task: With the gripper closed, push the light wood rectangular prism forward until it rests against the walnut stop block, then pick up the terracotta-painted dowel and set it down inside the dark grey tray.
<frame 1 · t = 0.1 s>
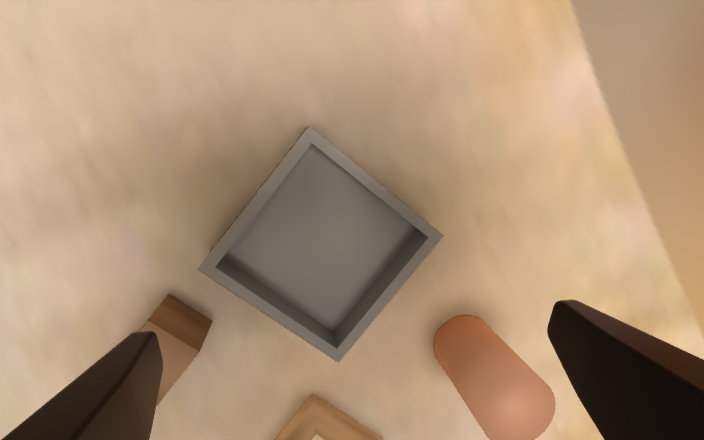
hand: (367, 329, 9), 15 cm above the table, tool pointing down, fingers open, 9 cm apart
tray: (321, 237, 25), on the table
stop block: (140, 371, 25), on the table
dowel: (462, 343, 27), on the table
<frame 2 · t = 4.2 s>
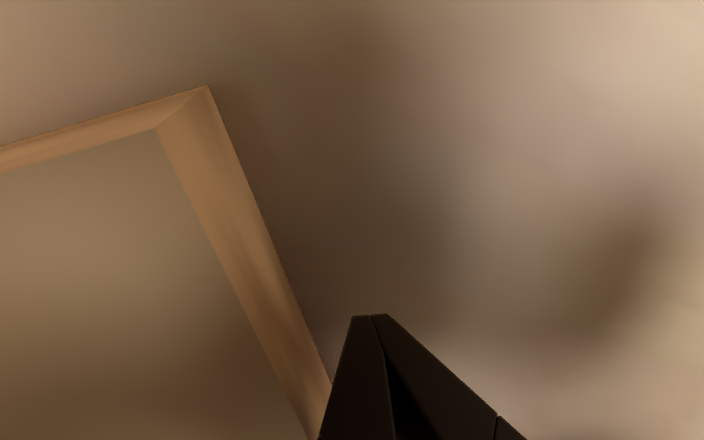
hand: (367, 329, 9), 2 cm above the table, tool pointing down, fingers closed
light wood rectangular prism: (169, 295, 10), on the table, touching gripper
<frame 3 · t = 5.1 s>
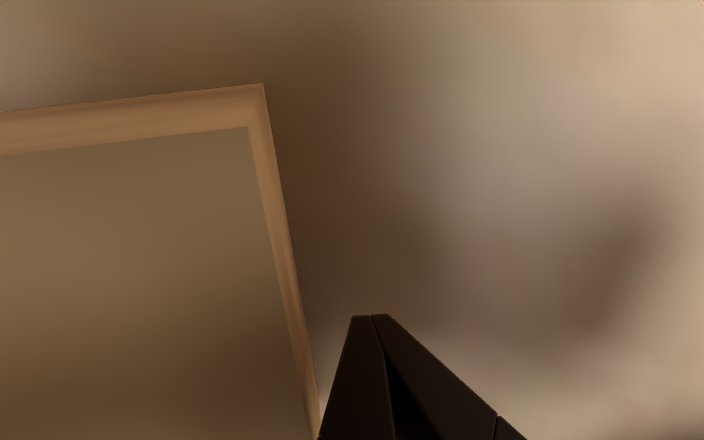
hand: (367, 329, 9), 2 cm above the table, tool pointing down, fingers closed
light wood rectangular prism: (175, 282, 10), on the table, touching gripper
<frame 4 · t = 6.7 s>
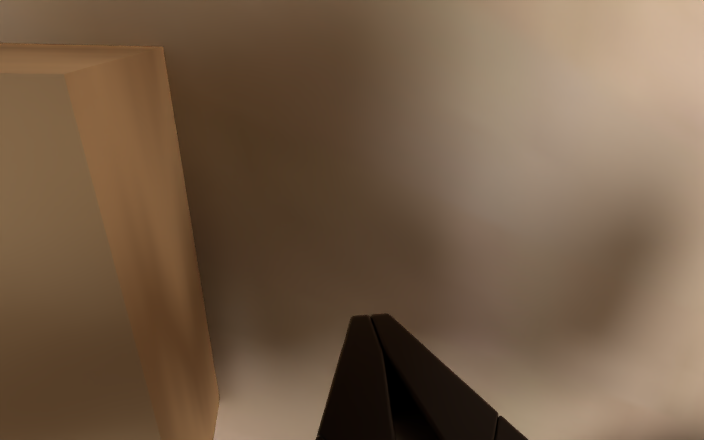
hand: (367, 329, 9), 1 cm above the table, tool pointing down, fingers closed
light wood rectangular prism: (58, 262, 9), on the table
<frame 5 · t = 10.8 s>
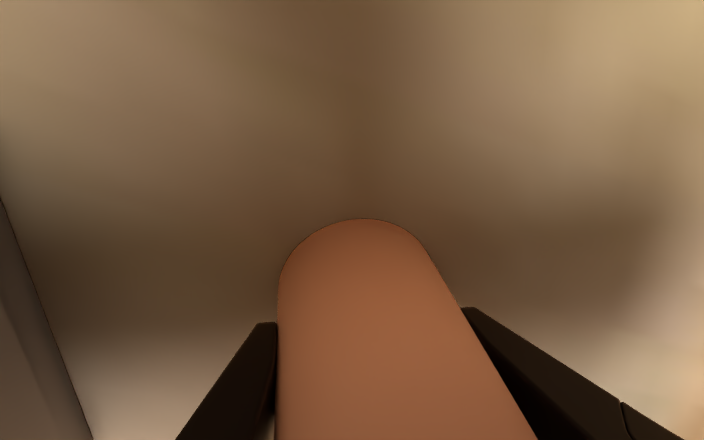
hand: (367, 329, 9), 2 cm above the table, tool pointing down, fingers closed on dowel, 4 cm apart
dowel: (357, 288, 11), on the table, touching gripper
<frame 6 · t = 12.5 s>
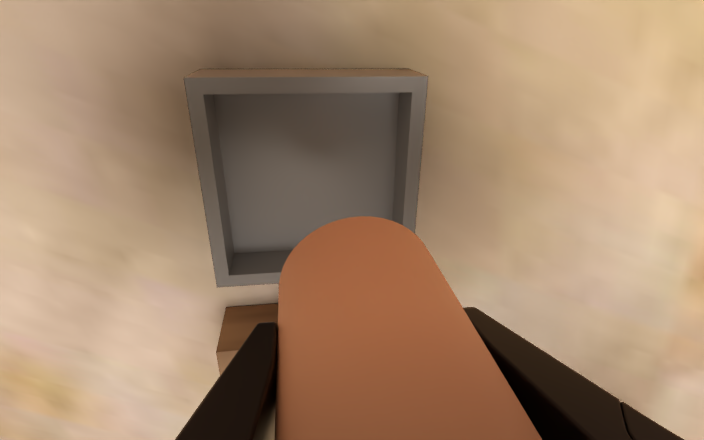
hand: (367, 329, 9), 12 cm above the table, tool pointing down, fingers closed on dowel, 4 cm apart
tray: (310, 168, 20), on the table
stop block: (261, 371, 25), on the table
dowel: (358, 286, 11), point 11 cm above the table, touching gripper
when the fingers open (4 cm above the table, at t = 14.4 s): dowel drops 1 cm, resting on tray.
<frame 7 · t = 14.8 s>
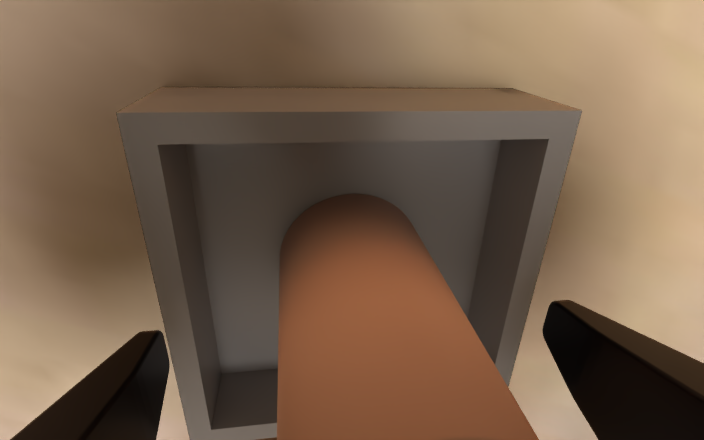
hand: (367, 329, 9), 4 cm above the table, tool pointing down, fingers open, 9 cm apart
tray: (344, 242, 13), on the table
dowel: (350, 257, 12), point 1 cm above the table, touching tray
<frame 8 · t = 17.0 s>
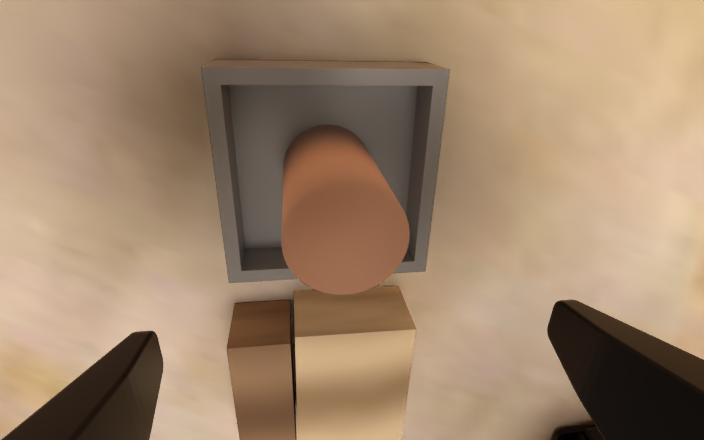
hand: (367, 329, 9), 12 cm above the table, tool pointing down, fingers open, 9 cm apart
tray: (324, 162, 20), on the table
light wood rectangular prism: (343, 345, 26), on the table
stop block: (268, 368, 25), on the table
dowel: (327, 168, 19), point 1 cm above the table, touching tray
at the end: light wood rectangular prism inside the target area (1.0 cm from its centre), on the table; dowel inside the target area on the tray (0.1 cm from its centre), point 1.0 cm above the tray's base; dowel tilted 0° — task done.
